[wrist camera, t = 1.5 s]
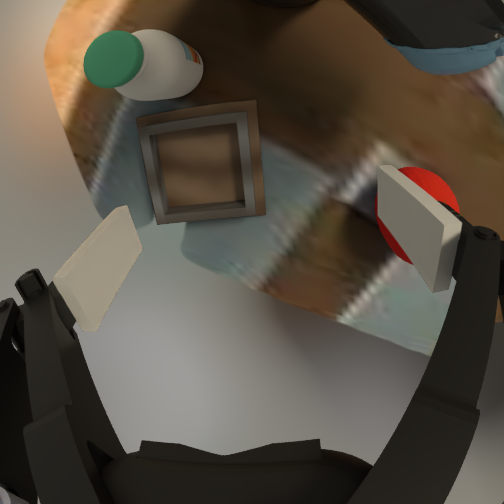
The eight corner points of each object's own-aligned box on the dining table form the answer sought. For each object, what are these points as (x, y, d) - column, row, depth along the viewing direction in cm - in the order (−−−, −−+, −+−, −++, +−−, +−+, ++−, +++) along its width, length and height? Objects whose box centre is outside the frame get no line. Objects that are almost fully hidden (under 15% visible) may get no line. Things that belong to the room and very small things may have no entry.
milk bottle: (211, 86, 35) (172, 81, 17) (157, 106, 36) (81, 125, 19) (194, 35, 31) (142, -7, 14) (140, 57, 32) (55, 43, 15)
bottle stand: (138, 117, 36) (127, 120, 33) (255, 99, 36) (256, 100, 32) (159, 222, 44) (151, 233, 41) (265, 212, 44) (266, 223, 40)
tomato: (360, 242, 46) (385, 284, 36) (368, 156, 39) (402, 180, 29) (425, 239, 46) (458, 277, 36) (438, 160, 39) (482, 185, 29)
